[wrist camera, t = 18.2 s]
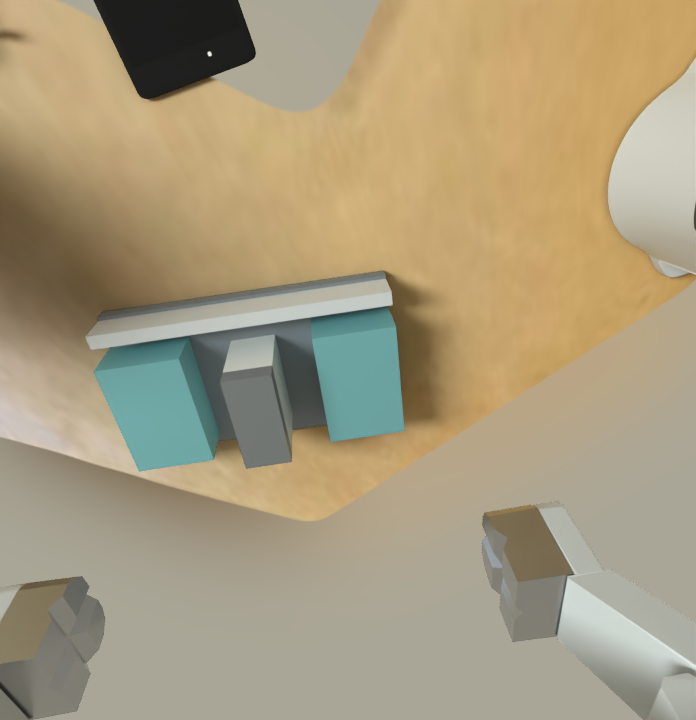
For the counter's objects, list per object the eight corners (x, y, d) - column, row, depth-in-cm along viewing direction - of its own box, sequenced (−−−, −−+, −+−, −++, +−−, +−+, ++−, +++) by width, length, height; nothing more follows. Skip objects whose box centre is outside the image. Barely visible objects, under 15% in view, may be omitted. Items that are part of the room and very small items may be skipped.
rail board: (383, 270, 43) (393, 292, 38) (395, 407, 51) (405, 439, 46) (101, 312, 43) (78, 339, 38) (156, 443, 50) (142, 479, 46)
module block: (274, 334, 44) (271, 375, 38) (292, 414, 48) (291, 461, 42) (230, 340, 44) (219, 382, 38) (252, 420, 48) (245, 468, 42)
